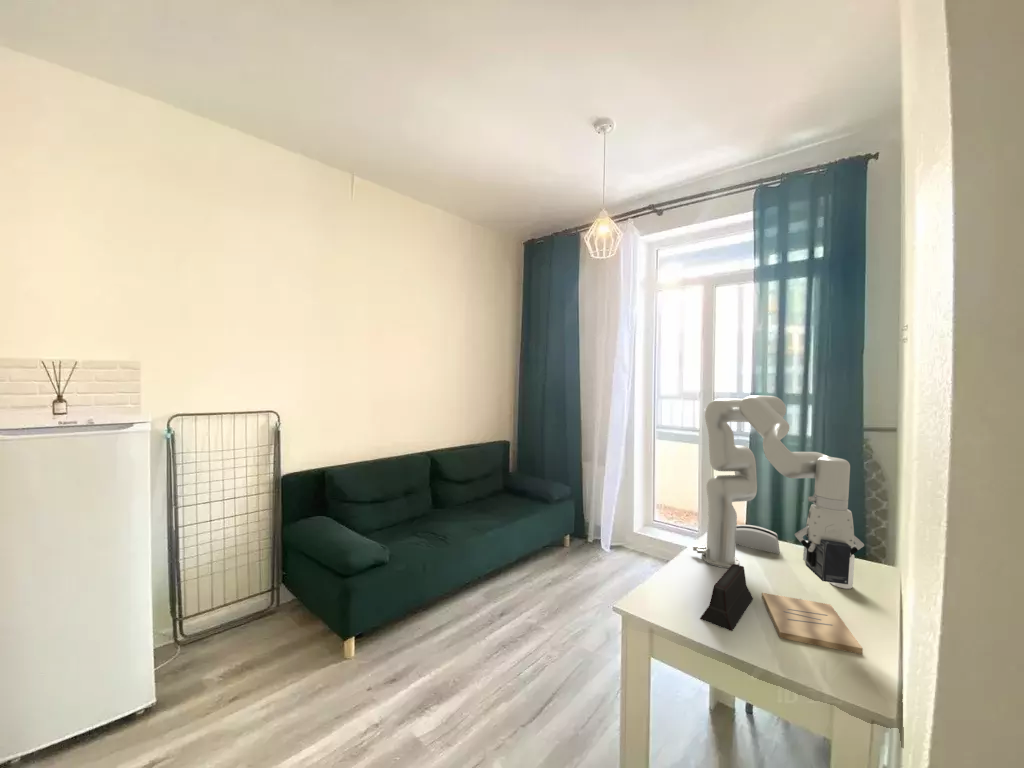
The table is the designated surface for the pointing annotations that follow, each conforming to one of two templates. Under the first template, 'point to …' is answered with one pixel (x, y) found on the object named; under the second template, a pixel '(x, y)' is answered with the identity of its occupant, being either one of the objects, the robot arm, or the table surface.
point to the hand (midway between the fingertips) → (826, 566)
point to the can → (850, 577)
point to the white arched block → (757, 538)
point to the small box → (831, 561)
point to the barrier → (728, 599)
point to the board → (810, 623)
